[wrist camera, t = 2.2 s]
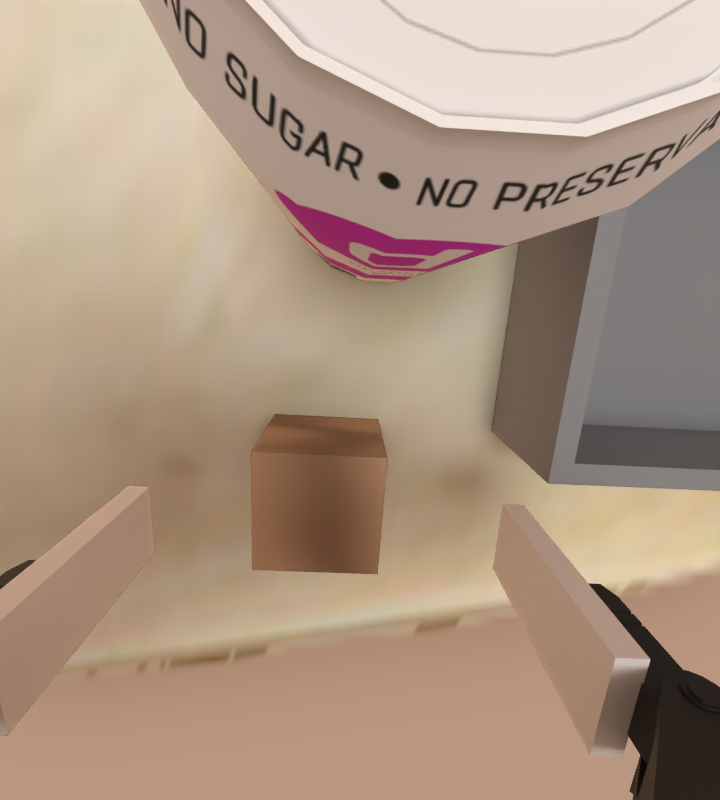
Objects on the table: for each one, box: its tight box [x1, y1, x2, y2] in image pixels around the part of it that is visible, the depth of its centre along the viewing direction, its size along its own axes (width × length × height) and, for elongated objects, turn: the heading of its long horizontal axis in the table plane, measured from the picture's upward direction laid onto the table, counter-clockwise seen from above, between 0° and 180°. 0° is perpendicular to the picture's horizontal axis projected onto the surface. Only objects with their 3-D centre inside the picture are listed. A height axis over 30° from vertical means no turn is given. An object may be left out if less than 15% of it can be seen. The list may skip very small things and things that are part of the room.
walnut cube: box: [251, 414, 387, 574], centre depth 18 cm, size 5×5×5 cm
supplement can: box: [140, 0, 720, 282], centre depth 10 cm, size 8×8×15 cm
